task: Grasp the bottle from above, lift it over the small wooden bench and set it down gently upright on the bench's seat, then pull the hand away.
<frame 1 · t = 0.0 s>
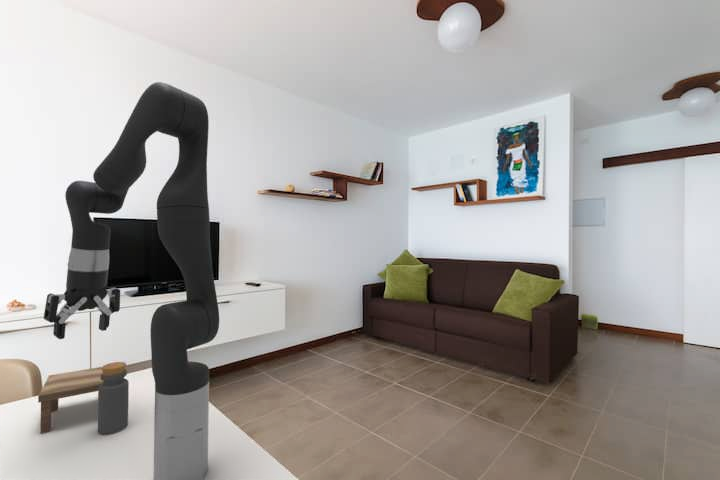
hand: (82, 333, 80), 22 cm above the table, tool pointing down, fingers open, 8 cm apart
bottle: (113, 428, 80), on the table
wooden bench: (80, 413, 86), on the table
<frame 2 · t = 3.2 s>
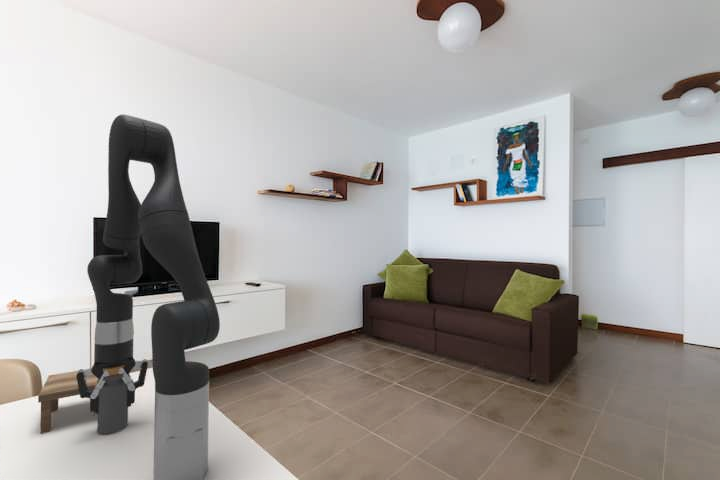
hand: (113, 408, 80), 5 cm above the table, tool pointing down, fingers closed on bottle, 6 cm apart
bottle: (112, 428, 80), on the table, touching gripper
when the fingers open (15 cm above the table, at t = 8.9 s): bottle drops 1 cm, resting on wooden bench.
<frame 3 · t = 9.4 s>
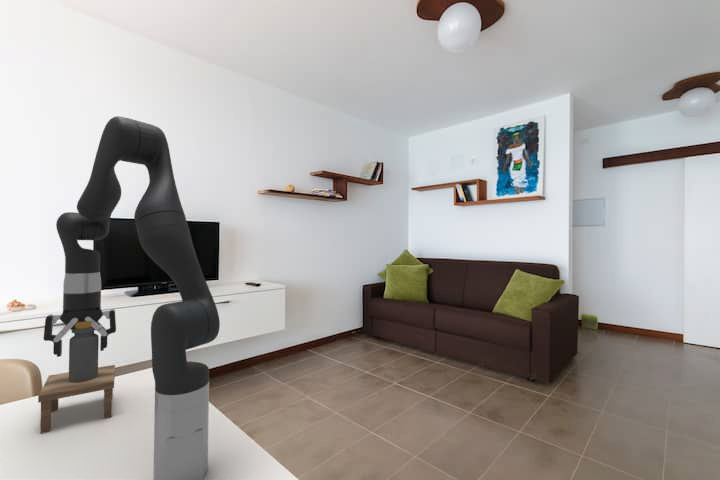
hand: (81, 352, 86), 16 cm above the table, tool pointing down, fingers open, 8 cm apart
bottle: (83, 378, 87), point 9 cm above the table, touching wooden bench
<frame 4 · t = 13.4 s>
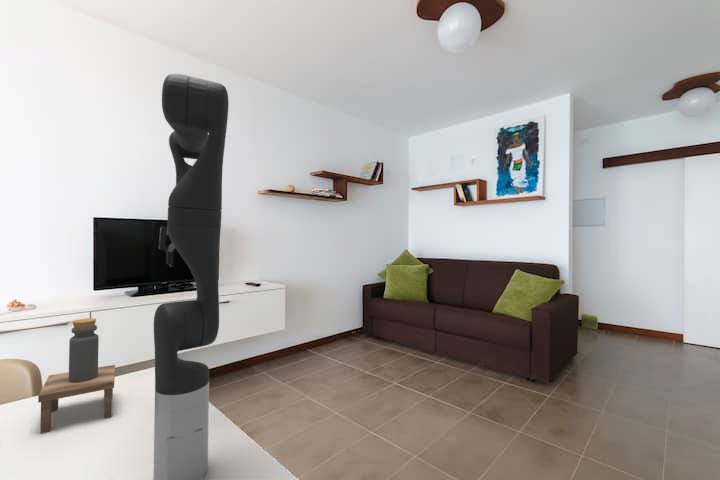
hand: (189, 266, 90), 38 cm above the table, tool pointing down, fingers open, 8 cm apart
nothing on the table moved.
at the end: bottle inside the target area on the wooden bench (0.5 cm from its centre), point 8.8 cm above the wooden bench's base; bottle tilted 0°; the gripper is holding nothing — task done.
